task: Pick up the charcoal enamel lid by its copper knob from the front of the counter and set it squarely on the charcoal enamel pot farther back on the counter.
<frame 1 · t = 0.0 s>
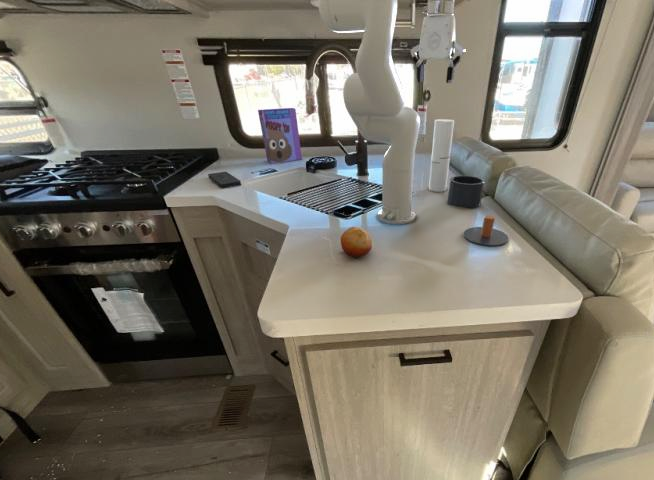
hand: (434, 82, 103), 37 cm above the worktop, tool pointing down, fingers open, 9 cm apart
fruit: (356, 255, 85), on the worktop
pot: (463, 203, 119), on the worktop
white tall block: (437, 189, 134), on the worktop
smart home device: (224, 181, 140), on the worktop
lid: (485, 237, 93), point 1 cm above the worktop
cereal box: (285, 161, 173), on the worktop
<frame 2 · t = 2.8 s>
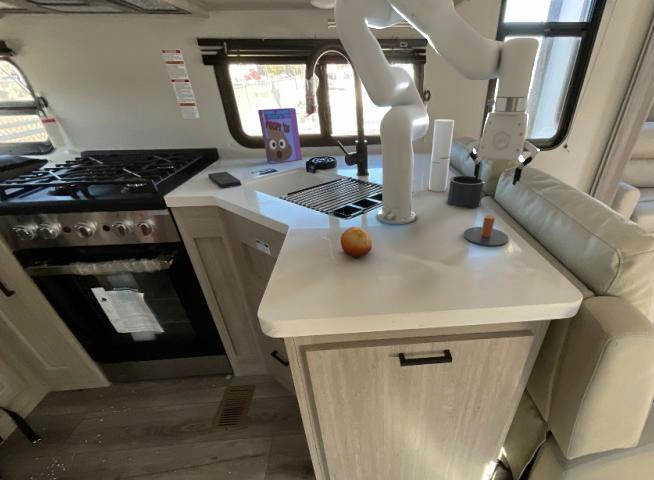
hand: (495, 181, 85), 16 cm above the worktop, tool pointing down, fingers open, 9 cm apart
nothing on the worktop moved.
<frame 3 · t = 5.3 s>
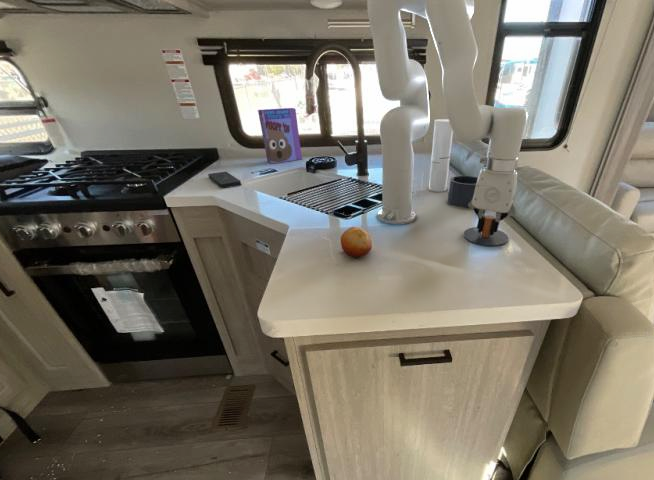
hand: (486, 231, 92), 2 cm above the worktop, tool pointing down, fingers closed on lid, 2 cm apart
lid: (485, 237, 93), point 1 cm above the worktop, touching gripper
everything else where it was.
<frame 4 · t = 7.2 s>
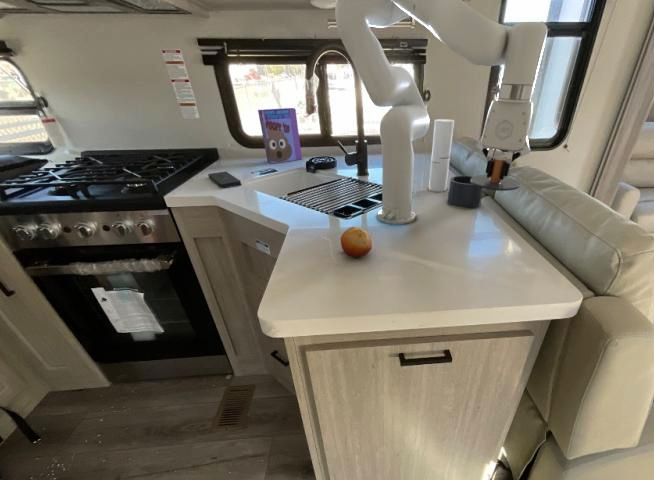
hand: (496, 176, 84), 17 cm above the worktop, tool pointing down, fingers closed on lid, 2 cm apart
lid: (494, 183, 85), point 16 cm above the worktop, touching gripper
everything else where it was.
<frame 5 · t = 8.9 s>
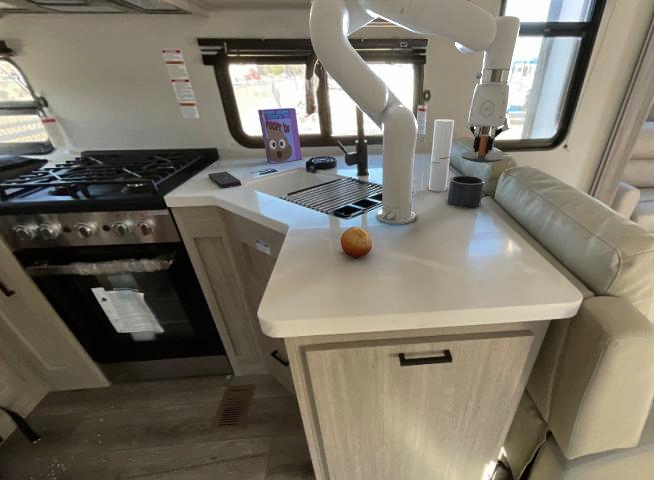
hand: (482, 151, 97), 20 cm above the worktop, tool pointing down, fingers closed on lid, 2 cm apart
lid: (481, 157, 98), point 19 cm above the worktop, touching gripper
everything else where it was.
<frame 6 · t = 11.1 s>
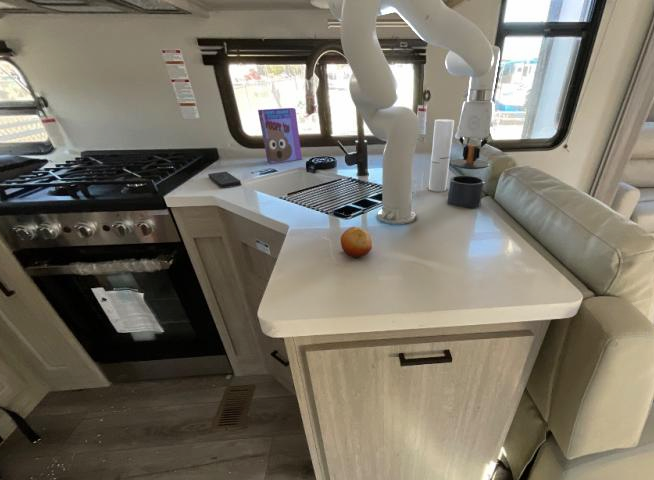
hand: (470, 159, 110), 15 cm above the worktop, tool pointing down, fingers closed on lid, 2 cm apart
lid: (469, 164, 111), point 14 cm above the worktop, touching gripper
everything else where it was.
when the fingers open (10 cm above the worktop, at t = 12.6 s): lid stays where it is, resting on pot.
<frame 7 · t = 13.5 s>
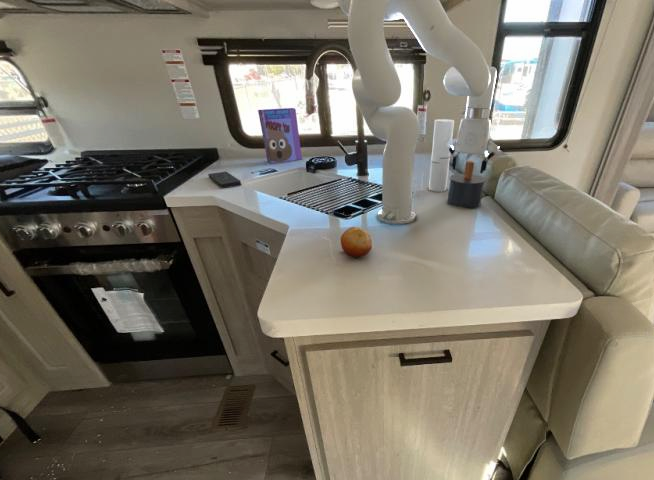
hand: (468, 170, 112), 12 cm above the worktop, tool pointing down, fingers open, 9 cm apart
lid: (467, 179, 114), point 8 cm above the worktop, touching pot
everything else where it was.
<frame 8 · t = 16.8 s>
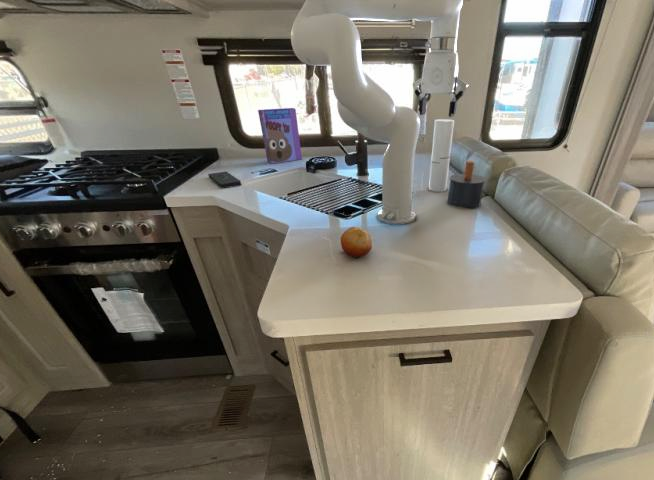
hand: (436, 115, 102), 28 cm above the worktop, tool pointing down, fingers open, 9 cm apart
nothing on the worktop moved.
at the end: lid 0.1 cm off-centre on the pot, point 8.5 cm above the pot's base; lid tilted 0° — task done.
